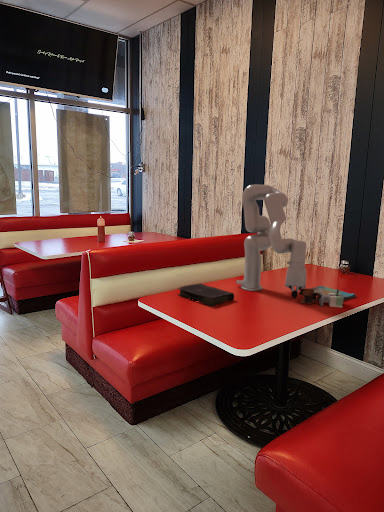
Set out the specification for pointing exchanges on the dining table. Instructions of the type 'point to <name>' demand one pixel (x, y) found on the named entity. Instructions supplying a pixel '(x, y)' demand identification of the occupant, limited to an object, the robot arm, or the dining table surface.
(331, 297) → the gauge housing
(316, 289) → the dish towel
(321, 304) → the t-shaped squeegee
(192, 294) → the diary
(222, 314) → the dining table surface
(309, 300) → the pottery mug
